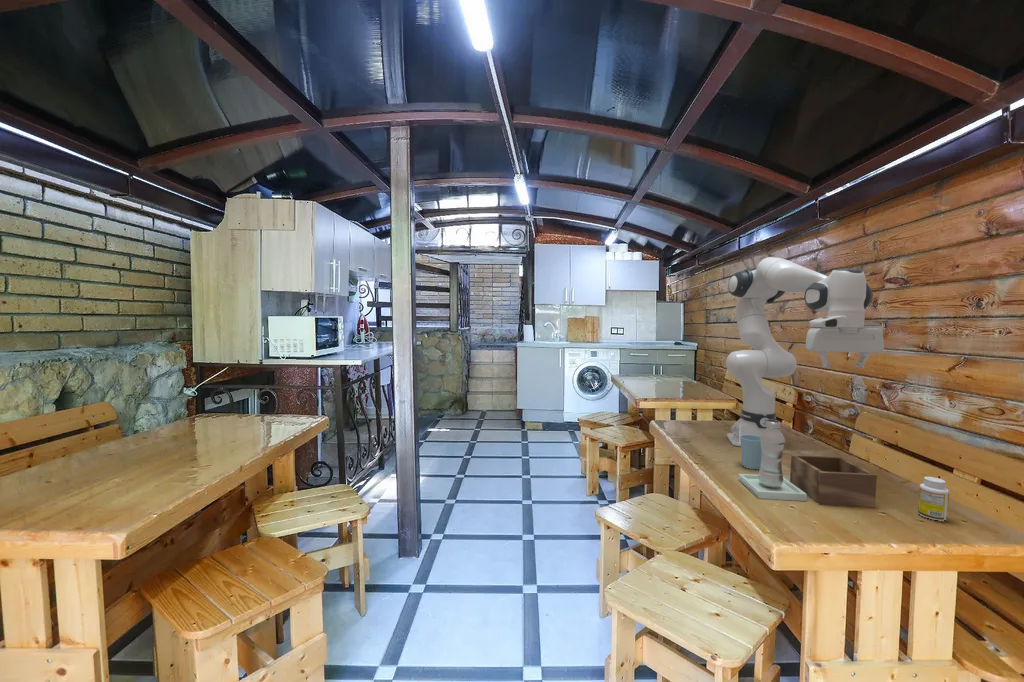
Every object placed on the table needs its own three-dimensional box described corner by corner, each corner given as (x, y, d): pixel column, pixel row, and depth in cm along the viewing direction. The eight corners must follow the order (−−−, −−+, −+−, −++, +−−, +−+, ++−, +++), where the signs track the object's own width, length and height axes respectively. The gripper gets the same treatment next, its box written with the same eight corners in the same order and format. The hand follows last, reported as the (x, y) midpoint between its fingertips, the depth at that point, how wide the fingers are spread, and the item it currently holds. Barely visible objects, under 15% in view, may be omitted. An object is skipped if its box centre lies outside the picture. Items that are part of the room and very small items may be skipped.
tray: (738, 479, 136) (738, 473, 136) (781, 481, 134) (781, 475, 134) (758, 498, 122) (758, 491, 122) (806, 501, 120) (807, 494, 120)
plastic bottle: (778, 483, 130) (781, 419, 129) (786, 492, 124) (789, 424, 123) (755, 480, 132) (757, 417, 131) (761, 489, 126) (764, 422, 125)
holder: (789, 482, 134) (791, 454, 133) (838, 485, 132) (840, 456, 131) (819, 504, 118) (820, 472, 118) (875, 507, 117) (877, 475, 116)
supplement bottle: (930, 512, 114) (932, 475, 114) (953, 522, 109) (956, 483, 108) (911, 512, 114) (914, 475, 113) (934, 522, 108) (936, 483, 108)
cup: (768, 468, 147) (769, 438, 146) (757, 472, 142) (758, 442, 142) (746, 461, 153) (747, 433, 152) (735, 466, 148) (736, 436, 148)
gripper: (875, 322, 130) (872, 366, 131) (803, 321, 133) (801, 365, 133) (891, 322, 124) (888, 369, 125) (816, 321, 126) (813, 367, 127)
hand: (842, 367), depth 129 cm, fingers open, 8 cm apart
